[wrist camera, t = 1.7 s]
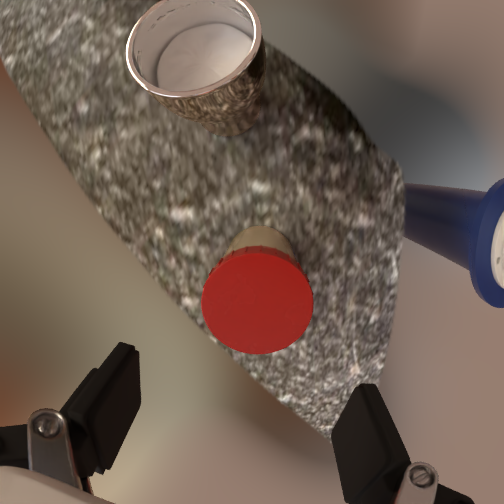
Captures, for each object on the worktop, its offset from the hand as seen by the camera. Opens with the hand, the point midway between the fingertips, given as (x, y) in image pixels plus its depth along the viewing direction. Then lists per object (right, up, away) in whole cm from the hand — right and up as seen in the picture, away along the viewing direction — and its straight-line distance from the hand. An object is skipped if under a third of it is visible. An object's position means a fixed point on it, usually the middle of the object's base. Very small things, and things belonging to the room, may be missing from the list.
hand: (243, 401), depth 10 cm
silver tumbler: (-2, +19, +15) cm, 25 cm away
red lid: (+1, +2, +8) cm, 9 cm away
